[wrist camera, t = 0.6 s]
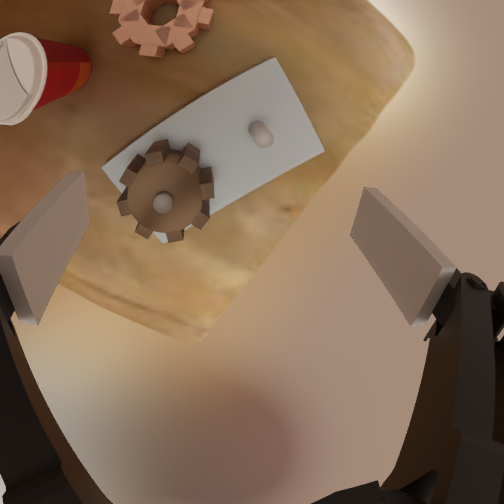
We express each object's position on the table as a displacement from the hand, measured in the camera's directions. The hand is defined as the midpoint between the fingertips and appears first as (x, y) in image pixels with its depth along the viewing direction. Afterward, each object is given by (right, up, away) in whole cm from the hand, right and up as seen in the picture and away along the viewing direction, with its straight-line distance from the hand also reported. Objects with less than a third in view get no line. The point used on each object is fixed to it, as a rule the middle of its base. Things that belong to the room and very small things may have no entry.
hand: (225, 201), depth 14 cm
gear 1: (-8, +22, +11) cm, 26 cm away
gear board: (-3, +9, +20) cm, 22 cm away
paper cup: (-19, +18, +12) cm, 29 cm away
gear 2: (-8, +6, +19) cm, 22 cm away
